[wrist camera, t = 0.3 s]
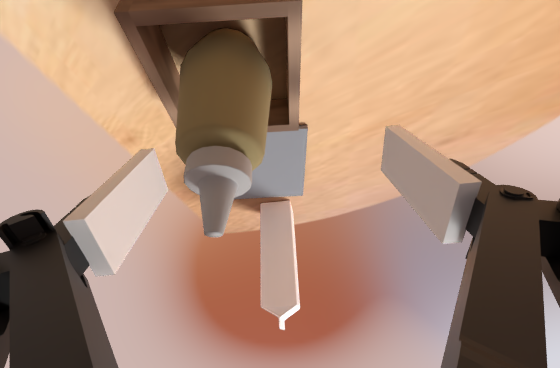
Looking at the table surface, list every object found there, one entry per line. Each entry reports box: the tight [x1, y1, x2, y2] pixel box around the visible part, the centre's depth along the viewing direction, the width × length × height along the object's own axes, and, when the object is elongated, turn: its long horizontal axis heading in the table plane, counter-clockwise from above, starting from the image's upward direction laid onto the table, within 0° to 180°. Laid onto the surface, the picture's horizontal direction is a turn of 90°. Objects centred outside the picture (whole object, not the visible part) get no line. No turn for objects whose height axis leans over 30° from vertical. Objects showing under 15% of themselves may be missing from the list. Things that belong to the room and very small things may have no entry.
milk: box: [260, 200, 300, 330], centre depth 49 cm, size 6×6×22 cm
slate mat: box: [234, 125, 308, 199], centre depth 42 cm, size 18×16×1 cm
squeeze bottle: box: [175, 28, 272, 237], centre depth 21 cm, size 8×8×18 cm
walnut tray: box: [114, 0, 302, 132], centre depth 25 cm, size 13×13×4 cm
